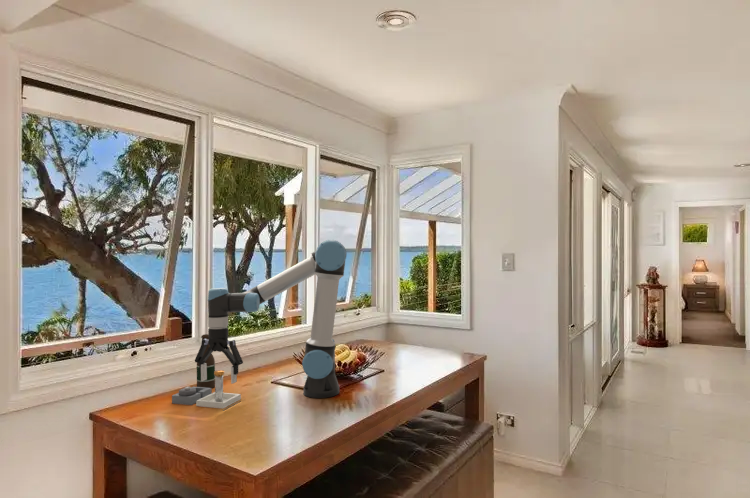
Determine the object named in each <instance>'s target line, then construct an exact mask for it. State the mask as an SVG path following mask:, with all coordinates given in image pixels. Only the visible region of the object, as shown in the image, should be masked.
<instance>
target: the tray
mask: <svg viewBox="0 0 750 498" xmlns="http://www.w3.org/2000/svg"><path fill="white" fill-rule="evenodd" d="M241 395H242V394H241V393H232V392H223V402H215V391H213V392H212V393H211V394H209V395H207V396H205V397H203V398H201V399H199V400H197V401H196V403H195V406H196V407H202V408H203V407H204V408H212V409H214V408H215V409H221V410H222V412H224V411H227V410H229V409H230V408H232V407H234V406H236V405H237V404H239V403H241V399H242V396H241Z"/></svg>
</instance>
